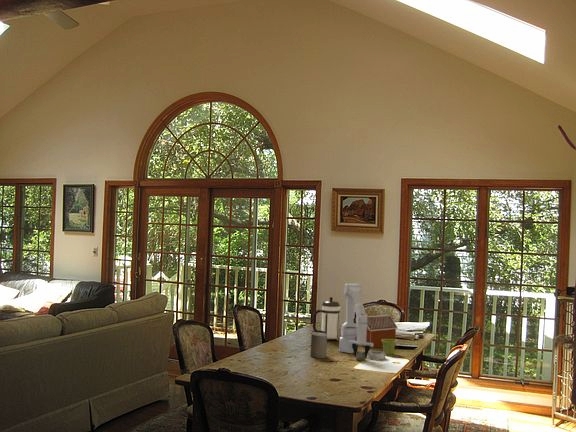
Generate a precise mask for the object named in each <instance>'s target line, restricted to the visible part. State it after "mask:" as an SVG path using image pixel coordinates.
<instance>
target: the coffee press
mask: <svg viewBox="0 0 576 432" xmlns="http://www.w3.org/2000/svg"><path fill="white" fill-rule="evenodd" d="M341 309H342V306H341V304H340V302H339V301H336V300H333V296H330V297H329V300H328V299H327V300H324V301H322V303H321V309H317V310H315V311H314V313H313V315H312V316H313V317H312V329H313V331H314V333H325V334H327V340H336V341H337V342H339V340H340V337H339V333H340V332H339V327H340V311H341ZM319 313H321V330H319V329H316V328H317V327H316V323H317V321H316V319H317V315H318V314H319Z"/></svg>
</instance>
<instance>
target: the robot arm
mask: <svg viewBox="0 0 576 432" xmlns="http://www.w3.org/2000/svg"><path fill="white" fill-rule="evenodd" d="M361 293H362V285H361V284H360V283H345V284H344V286H343V295H344V296H343V297H346V299H345V300H346V301H345V303H346V304H345V322H344V323H342V324H341V327H340V336H341V337H339V339H340V340H338V352H340V353H348V354H354V357H355V358H357V357H356V352H358V347H359V346H361V345H363V344H364V345H363V346H362V347H364V352H365V359H367V358H368V352H369V351H370V349H372V348H371V347H373V343H369V342H366V332H367V324H368V321H369V319H368V314H367V313H366V311H365V307H364V305H363V304H362V302H361ZM354 312H355V313H354ZM354 314H355V315H354ZM354 316H356V317H354ZM354 318H355V322H356V323H355V322H354ZM356 336H357V341H355V338H356Z"/></svg>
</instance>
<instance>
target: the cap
mask: <svg viewBox="0 0 576 432" xmlns="http://www.w3.org/2000/svg"><path fill="white" fill-rule="evenodd" d="M355 358H356V361H360V362H361V361H362V362H363V361H364V362H365V360H366V358H365V351H358V350H357V352H356V357H355Z"/></svg>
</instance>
